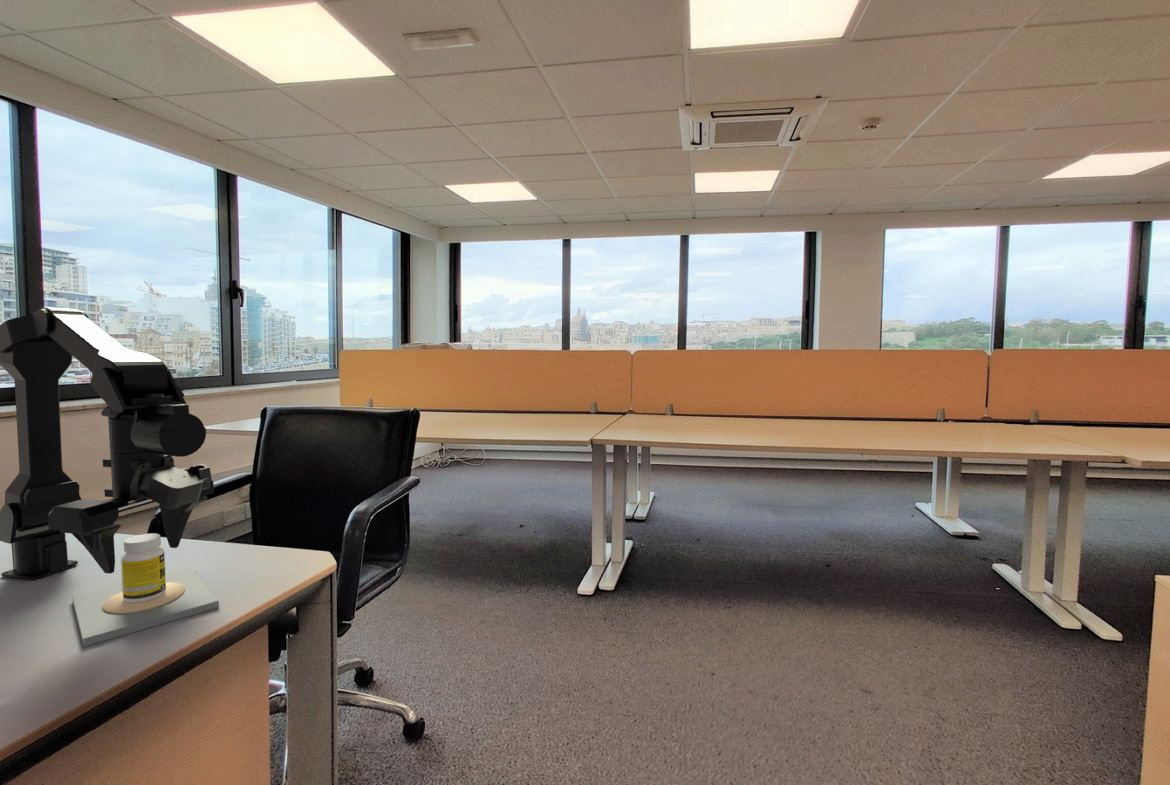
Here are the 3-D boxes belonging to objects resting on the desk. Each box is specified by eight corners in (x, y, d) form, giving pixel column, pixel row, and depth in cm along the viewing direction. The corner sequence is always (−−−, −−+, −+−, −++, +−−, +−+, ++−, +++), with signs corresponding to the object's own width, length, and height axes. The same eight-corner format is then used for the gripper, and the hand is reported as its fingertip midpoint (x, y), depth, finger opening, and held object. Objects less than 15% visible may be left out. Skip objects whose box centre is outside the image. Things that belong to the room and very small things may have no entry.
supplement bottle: (169, 596, 76) (166, 538, 75) (125, 607, 72) (122, 546, 72) (162, 585, 79) (160, 530, 78) (120, 595, 76) (117, 537, 75)
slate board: (72, 602, 76) (72, 593, 76) (192, 573, 86) (192, 565, 86) (83, 646, 65) (82, 636, 65) (218, 607, 76) (218, 598, 75)
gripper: (116, 467, 63) (123, 595, 65) (242, 441, 82) (246, 540, 83) (40, 462, 65) (49, 586, 67) (180, 437, 84) (185, 535, 85)
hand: (143, 559), depth 75 cm, fingers open, 9 cm apart
